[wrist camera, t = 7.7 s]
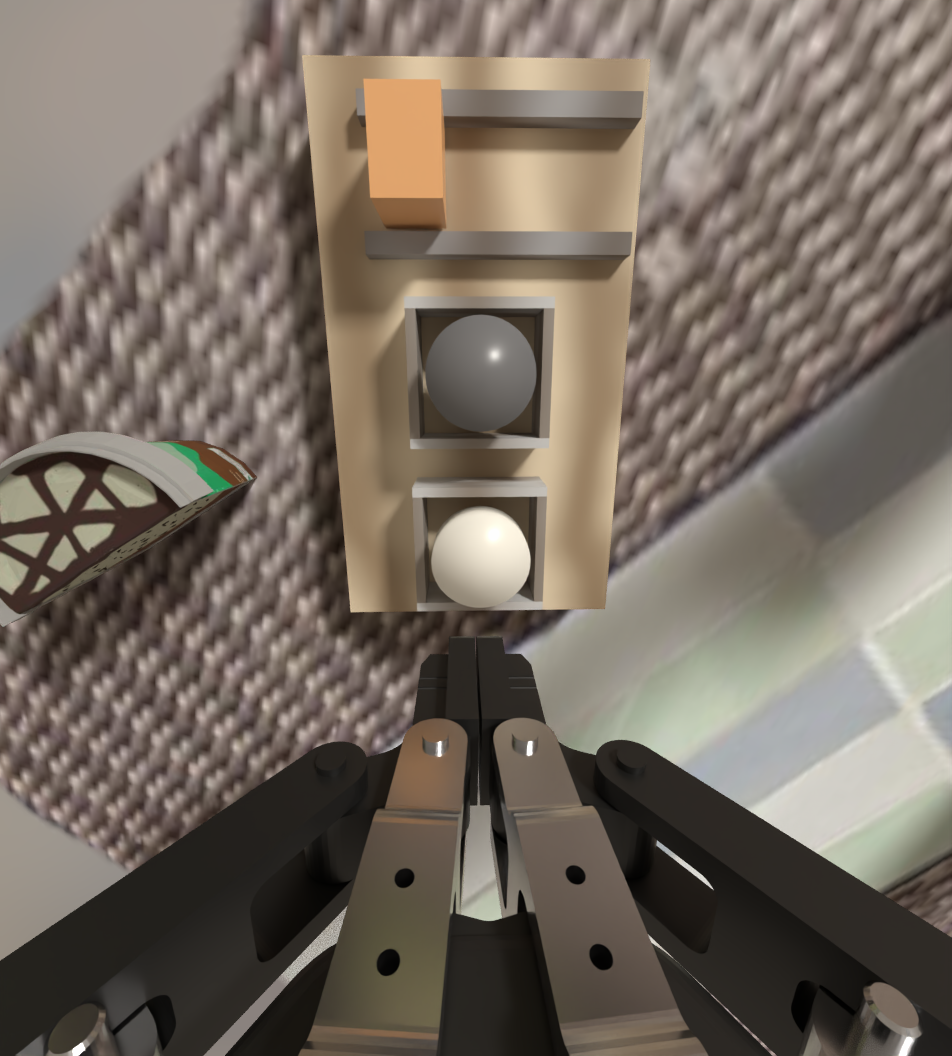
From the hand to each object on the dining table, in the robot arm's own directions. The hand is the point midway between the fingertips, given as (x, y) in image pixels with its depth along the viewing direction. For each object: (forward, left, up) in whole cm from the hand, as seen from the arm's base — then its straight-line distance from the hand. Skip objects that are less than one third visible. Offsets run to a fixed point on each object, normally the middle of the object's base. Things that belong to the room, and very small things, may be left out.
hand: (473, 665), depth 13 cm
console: (-1, -8, -19) cm, 21 cm away
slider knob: (+2, -17, -15) cm, 23 cm away
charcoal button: (-1, -8, -12) cm, 15 cm away
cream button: (-1, +1, -12) cm, 12 cm away
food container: (+19, -2, -20) cm, 28 cm away
